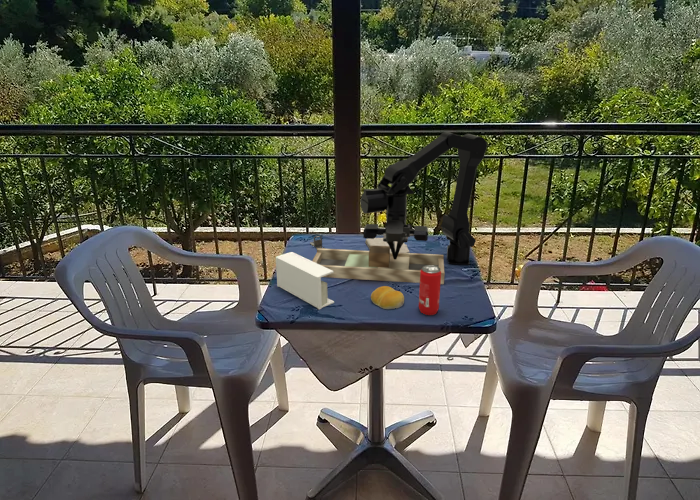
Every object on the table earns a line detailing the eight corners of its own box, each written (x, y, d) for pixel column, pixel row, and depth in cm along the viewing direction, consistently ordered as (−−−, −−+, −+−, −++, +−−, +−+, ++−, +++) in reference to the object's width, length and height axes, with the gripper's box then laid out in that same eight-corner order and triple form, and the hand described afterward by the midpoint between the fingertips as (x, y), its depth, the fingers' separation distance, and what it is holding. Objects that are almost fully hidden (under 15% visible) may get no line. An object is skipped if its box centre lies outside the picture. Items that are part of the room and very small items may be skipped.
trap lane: (442, 265, 160) (443, 254, 158) (443, 284, 147) (444, 273, 146) (317, 258, 165) (317, 248, 164) (308, 276, 152) (307, 265, 151)
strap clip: (309, 244, 178) (308, 233, 176) (317, 243, 179) (316, 231, 177) (319, 252, 171) (318, 240, 169) (327, 251, 172) (326, 239, 170)
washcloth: (376, 263, 162) (377, 254, 161) (363, 244, 179) (363, 235, 177) (412, 260, 164) (412, 251, 163) (396, 241, 181) (396, 233, 180)
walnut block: (389, 259, 157) (390, 246, 156) (388, 267, 152) (388, 253, 150) (370, 258, 158) (370, 245, 156) (368, 266, 153) (368, 252, 151)
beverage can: (416, 306, 134) (418, 265, 130) (435, 306, 135) (438, 264, 130) (420, 316, 129) (423, 273, 125) (440, 315, 130) (443, 272, 125)
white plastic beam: (334, 303, 137) (334, 271, 133) (318, 310, 133) (317, 277, 130) (290, 280, 150) (288, 250, 147) (274, 285, 147) (272, 255, 143)
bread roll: (389, 313, 131) (389, 299, 130) (365, 301, 138) (366, 288, 136) (411, 303, 136) (411, 290, 135) (387, 292, 143) (388, 279, 141)
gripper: (361, 216, 142) (361, 268, 148) (428, 219, 139) (426, 271, 145) (365, 205, 152) (365, 253, 158) (428, 207, 149) (426, 256, 155)
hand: (395, 258), depth 154 cm, fingers closed
